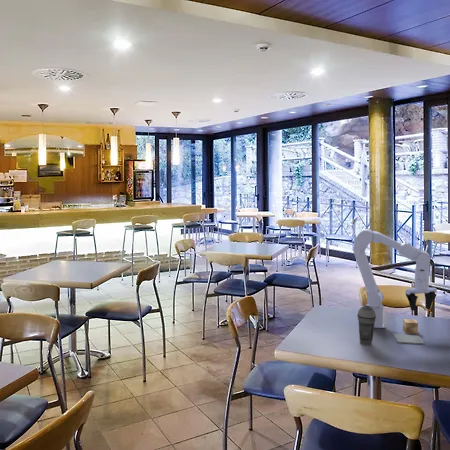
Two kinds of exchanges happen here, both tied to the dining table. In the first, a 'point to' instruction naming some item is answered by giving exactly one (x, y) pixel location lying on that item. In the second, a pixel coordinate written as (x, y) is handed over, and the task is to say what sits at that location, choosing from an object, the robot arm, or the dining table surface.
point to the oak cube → (410, 326)
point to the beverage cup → (366, 324)
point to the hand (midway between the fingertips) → (420, 309)
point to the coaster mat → (408, 339)
